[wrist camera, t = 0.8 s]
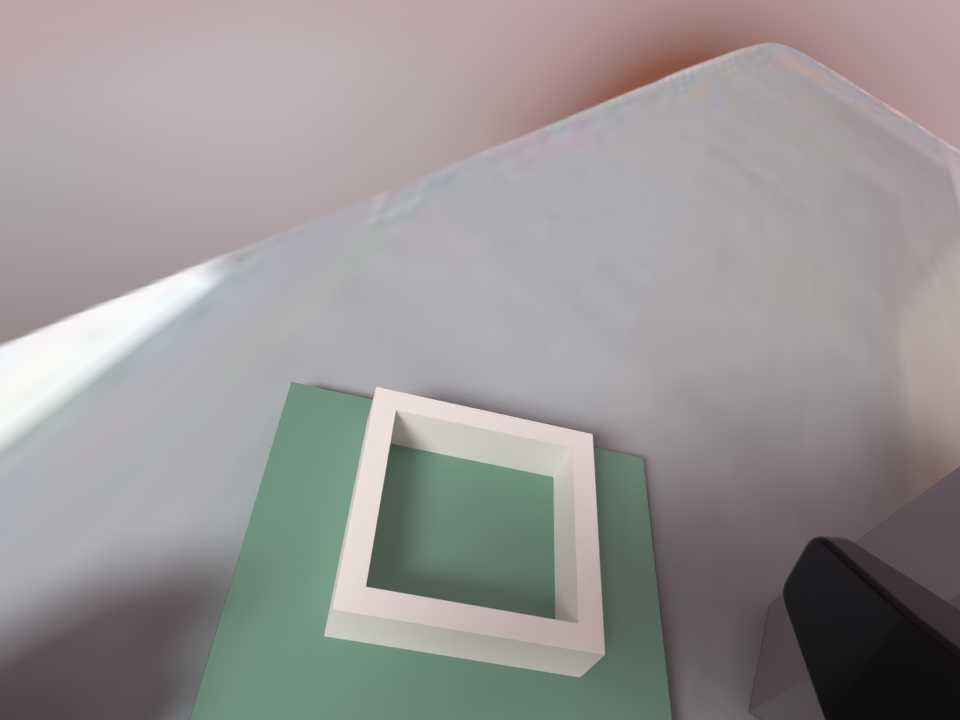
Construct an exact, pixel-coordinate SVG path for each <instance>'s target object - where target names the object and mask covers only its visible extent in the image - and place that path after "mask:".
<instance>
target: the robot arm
mask: <svg viewBox="0 0 960 720" xmlns="http://www.w3.org/2000/svg"><path fill="white" fill-rule="evenodd" d="M783 600H784V604H785V608H786V611H787V613H788V616H789V619H790V622H791V625H792V628H793V631H794V634H795V636H796V639H797V642H798V645H799V648H800V651H801V654H802V657H803V659H804V662H805V665H806V668H807V671H808V674H809V677H810V679H811V682H812V685H813V688H814V691H815V694H816V697H817V700H818V702H819V705H820V708H821V711H822V713H823V716H824V719H825V720H960V609H958V608H957V607H955V606H954V605H952V604H950V603H949V602H947V601H946V600H944V599H942V598H941V597H939V596H938V595H936V594H935V593H933V592H931V591H930V590H928V589H927V588H925V587H924V586H922V585H920V584H919V583H917V582H916V581H914V580H913V579H911V578H909V577H908V576H906V575H905V574H903V573H901V572H900V571H898V570H897V569H895V568H894V567H892V566H890V565H889V564H887V563H886V562H884V561H883V560H881V559H879V558H878V557H876V556H875V555H873V554H872V553H870V552H868V551H867V550H865V549H864V548H862V547H861V546H859V545H857V544H856V543H854V542H853V541H851V540H848V539H845V538H839V537H825V536H819V537H815V538H813V539H812V540H810V541H809V542H808V544H807V545H806V547H805V548H804V550H803V552H802V554H801V555H800V557H799V559H798V561H797V562H796V564H795V566H794V568H793V569H792V571H791V573H790V575H789V576H788V578H787V580H786V582H785V584H784V588H783Z"/></svg>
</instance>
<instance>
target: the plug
mask: <svg viewBox="0 0 960 720" xmlns="http://www.w3.org/2000/svg"><path fill="white" fill-rule="evenodd" d="M855 543H856V544H857V545H859V546H861V547H862V548H864V549H865V550H867V551H868V552H870V553H872V554H873V555H875V556H876V557H878V558H879V559H881V560H883V561H884V562H886V563H887V564H889V565H890V566H892V567H894V568H895V569H897V570H898V571H900V572H901V573H903V574H905V575H906V576H908V577H909V578H911V579H913V580H914V581H916V582H917V583H919V584H920V585H922V586H924V587H925V588H927V589H928V590H930V591H931V592H933V593H935V594H936V595H938V596H939V597H941V598H942V599H944V600H946V601H947V602H949V603H950V604H952V605H954V606H955V607H957V608H958V609H960V467H959V468H957V469H956V470H954V471H953V472H952V473H950V474H949V475H948V476H946V477H945V478H943V479H942V480H941V481H939V482H938V483H937V484H935V485H934V486H932V487H931V488H930V489H928V490H927V491H926V492H924V493H923V494H921V495H920V496H919V497H917V498H916V499H915V500H913V501H912V502H910V503H909V504H908V505H906V506H905V507H904V508H902V509H901V510H899V511H898V512H897V513H895V514H894V515H893V516H891V517H890V518H888V519H887V520H886V521H884V522H883V523H882V524H880V525H879V526H877V527H876V528H875V529H873V530H872V531H871V532H869V533H868V534H866V535H865V536H864V537H862V538H861V539H860V540H858V541H857V542H855ZM749 712H750V713H752V714H753V715H755V716H756V717H758V718H760V719H761V720H825V719H824V716H823V713H822V711H821V708H820V705H819V702H818V700H817V697H816V694H815V691H814V688H813V685H812V682H811V679H810V677H809V674H808V671H807V668H806V665H805V662H804V659H803V657H802V654H801V651H800V648H799V645H798V642H797V639H796V636H795V634H794V631H793V628H792V625H791V622H790V619H789V616H788V613H787V611H786V608H785V604H784V600H783V595H782V596H781V597H780V598H778V599H777V600H776V601H774V602H773V603H771V604H770V606H769V611H768V616H767V621H766V627H765V632H764V637H763V642H762V647H761V652H760V657H759V662H758V667H757V672H756V677H755V682H754V687H753V692H752V697H751V702H750V707H749Z"/></svg>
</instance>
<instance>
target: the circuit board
mask: <svg viewBox="0 0 960 720" xmlns="http://www.w3.org/2000/svg"><path fill="white" fill-rule="evenodd" d="M190 720H672V715H671V706H670V697H669V688H668V679H667V670H666V661H665V652H664V643H663V634H662V625H661V616H660V607H659V598H658V588H657V579H656V570H655V561H654V552H653V543H652V534H651V525H650V516H649V507H648V498H647V489H646V480H645V471H644V462H643V458H642V457H638V456H633V455H628V454H624V453H619V452H614V451H610V450H605V449H600V448H596V447H593V434H590V433H585V432H580V431H576V430H571V429H567V428H562V427H558V426H553V425H548V424H544V423H539V422H535V421H530V420H525V419H521V418H516V417H512V416H507V415H503V414H498V413H493V412H489V411H484V410H480V409H475V408H470V407H466V406H461V405H457V404H452V403H447V402H443V401H438V400H434V399H429V398H425V397H420V396H415V395H411V394H406V393H402V392H397V391H392V390H388V389H383V388H379V387H376V390H375V394H374V398H373V399H368V398H363V397H359V396H354V395H349V394H345V393H340V392H335V391H331V390H326V389H321V388H317V387H312V386H307V385H303V384H298V383H293V382H291V385H290V389H289V392H288V395H287V399H286V402H285V405H284V409H283V412H282V415H281V419H280V422H279V425H278V429H277V432H276V435H275V439H274V442H273V445H272V448H271V452H270V455H269V458H268V462H267V465H266V468H265V472H264V475H263V478H262V482H261V485H260V488H259V492H258V495H257V498H256V502H255V505H254V508H253V512H252V515H251V518H250V522H249V525H248V528H247V532H246V535H245V538H244V542H243V545H242V548H241V552H240V555H239V558H238V561H237V565H236V568H235V571H234V575H233V578H232V581H231V585H230V588H229V591H228V595H227V598H226V601H225V605H224V608H223V611H222V615H221V618H220V621H219V625H218V628H217V631H216V635H215V638H214V641H213V645H212V648H211V651H210V655H209V658H208V661H207V664H206V668H205V671H204V674H203V678H202V681H201V684H200V688H199V691H198V694H197V698H196V701H195V704H194V708H193V711H192V714H191V718H190Z"/></svg>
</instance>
